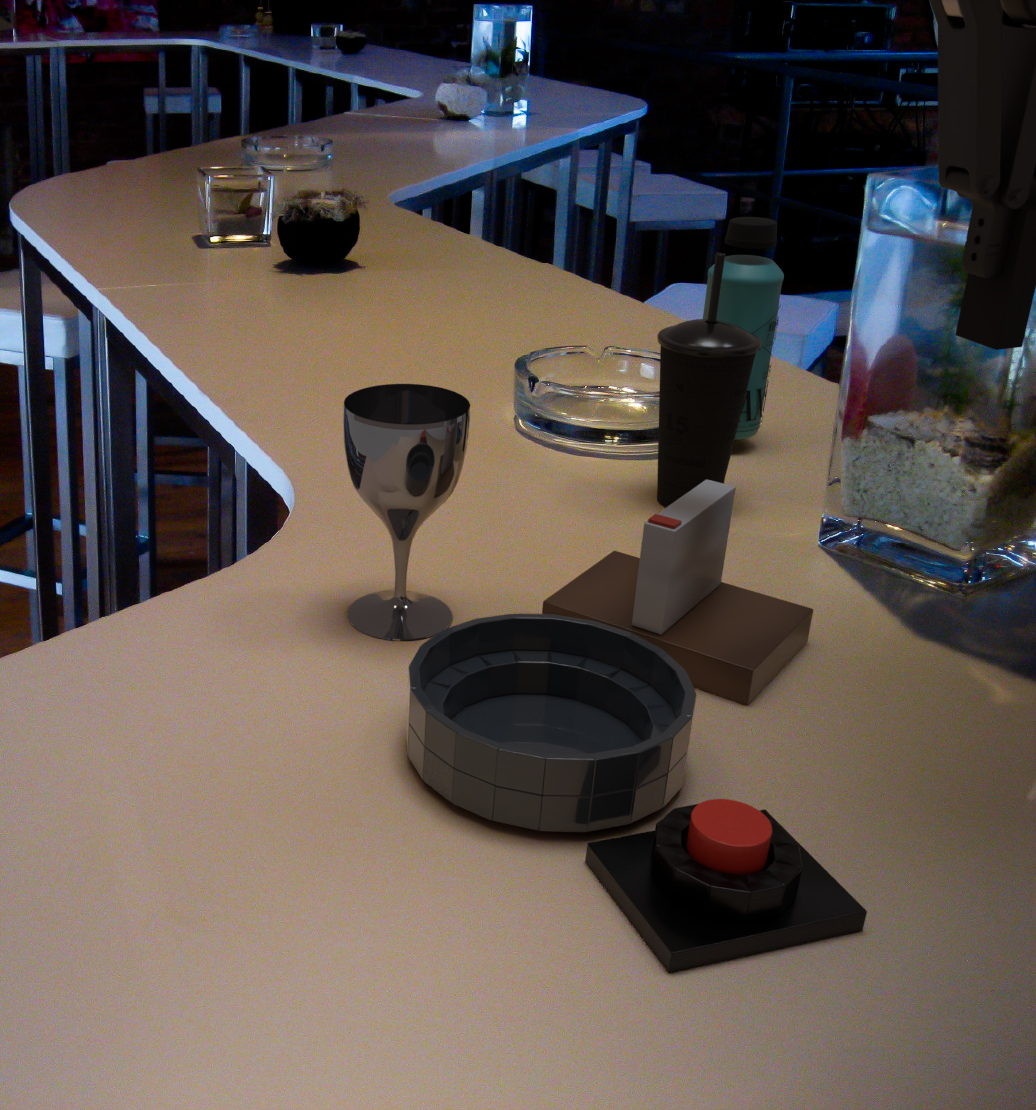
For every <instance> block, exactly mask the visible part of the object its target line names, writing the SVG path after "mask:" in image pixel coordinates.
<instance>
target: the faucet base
mask: <svg viewBox="0 0 1036 1110" xmlns="http://www.w3.org/2000/svg"><path fill="white" fill-rule="evenodd" d="M639 561H640V557H638V556H634V555H631V554H628V553H625V552H621V551H617V550H613V551H611V552H610V553H609V554H607V555H606V556H604V557H603V558H602V559H600V560H599V561H597V562H596V563H595V564H593V565H592V566H590V567H589V568H587V569H586V570H585V571H584V572H581V573H580V574H579V575H577V576H576V577H575V578H573V579H572V580H571V581H569V582H568V583H567V584H565V585H564V586H562V587H561V588H560V589H558V590H557V591H555V592H554V593H552V594H551V595H550V596H548V597H547V598H545V599H544V600H543V601H542V608H541V609H542V611H541V614H555V615H561V616H567V617H574V618H580V619H586V620H592V621H597V622H600V623H603V624H606V625H609V626H612V627H615V628H618V629H622V630H625V631H628V632H631V633H633V634H635V635H636V636H638V637H640V638H642V639H644V640H646V641H648V642H649V643H651V644H653V645H655V646H657V647H659V648H661V649H662V650H664V651H665V652H666V653H667V654H668V655H669V656H671V657H672V658H673V659H674V660H675V661H676V662H677V663H678V664H679V665H680V666H681V667H682V668H684V669H685V671H686V672H687V674H688V676H689V679H690V681H691V683H692V685H693V688H694V689H696V690H699V691H701V692H702V691H703V692H705V693H708V692H709V694H711V695H714V694H715V695H714V696H717V697H718V698H719V697H720V698H723V699H725V700H727V701H731V702H734V703H737V704H740V705H743V706H746V707H747V706H749V704H751V702H752V701H753V700H754V699H756V697H757V696H758V695H759V694H761V692H762V691H763V689H765V688H766V687H767V686H768V684H770V683H771V682H772V680H773V679H774V678H775V677H776V676H777V675H778V674H779V673H780V672H781V671H782V670H783V669H784V668H785V667H786V665H788V663H789V662H790V661H792V659H793V658H794V657H795V656H796V655H797V654H798V653H799V652H800V651H801V649H803V647H804V646H805V645H806V644H807V643H808V640H809V635H810V631H811V624H812V620H813V616H814V615H813V614H814V608H811V607H808V606H805V605H802V604H798V603H795V602H791V601H789V600H786V599H781V598H778V597H774V596H771V595H767V594H764V593H760V592H758V591H754V590H750V589H748V588H744V587H740V586H737V585H733V584H730V583H726V582H723V581H721V584H720V585H719V586H718V587H717V588H715V589H714V590H713V591H712V592H711V593H710V594H708V595H707V596H706V597H705V598H704V599H702V600H701V601H700V602H699V603H698V604H697V605H695V606H694V607H693V608H692V609H691V610H690V611H688V612H687V613H686V614H685V615H684V616H683V617H681V618H680V619H679V620H678V621H677V622H675V623H674V624H673V625H672V626H671V627H670V628H668V629H667V630H666V631H665V632H664V633H663V634H657V633H654V632H651V631H648V630H645V629H642V628H639V627H636V626H633V625H632V618H633V610H634V602H635V594H636V586H637V578H638V570H639ZM780 670H781V671H780Z"/></svg>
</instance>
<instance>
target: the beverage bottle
mask: <svg viewBox="0 0 1036 1110" xmlns="http://www.w3.org/2000/svg"><path fill="white" fill-rule="evenodd" d="M777 234H778V222H777V221H776V220H774V219H771V218H767V217H759V216H758V217H757V216H738V217H733V218H730V220H729V222H728V226H727V231H726V234H725V237H724V244H726V245H727V246H730V247H733V248H739V249H749V250H766V249H772V248H774V247H776V246H777V242H778V241H777ZM714 265H715V263H714V264H712V266H710V268H708V271H707V283H706V291H705V298H704V306H703V313H702V319H707V317H708V309H709V302H710V294H711V287H712V280H713V272H714ZM784 278H785V275H784V271H782V269H781V268H780V267H779V266H778V264H777V263H776V262H775V261H774V260H773V259H772V258H768V257H765V256H760V255H752V254H732V255H731V254H730V255H725V261H724V268H723V275H722V283H721V290H720V297H719V305H718V312H717V319H716V320H721V321H726V322H730V323H732V324H735V325H738V326H740V327H741V328H743V329H745V330H746V331H748V332H751V333H753V334H755V335H756V336H758V337H759V338H760V339H761V342H762V344H761V348H760V350H759V351H758V352H757V353H756V355H755V359H754V363H753V367H752V371H751V375H750V379H749V383H748V387H747V391H746V395H745V399H744V403H743V407H742V411H741V416H740V420H739V424H738V428H737V432H736V436H735V440H736V441H737V440H745V439H750V438H752V437H754V436H756V435H757V433H758V431H759V430H760V428H761V427H762V425H761V423H762V419H764V415H763V413H765V406H766V401H767V394H768V393H767V392H768V387H769V383H770V382H769V380H770V375H771V370H772V368H771V367H772V365H771V364H772V362H771V358H773V355H772V352H773V351H775V350H774V344H775V340H776V338H777V333H776V332H777V331H778V330H777V329H778V326H779V319H780V316H779V315H778V313H779V310H780V308H781V306H780V299H781V292H782V286H783V282H784ZM770 363H771V364H770ZM735 440H734V441H735Z"/></svg>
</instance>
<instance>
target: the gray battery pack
mask: <svg viewBox="0 0 1036 1110" xmlns="http://www.w3.org/2000/svg"><path fill="white" fill-rule="evenodd" d="M735 495H736V486H734V485H731V484H727V483H724V484H723V483H719V482H715V481H711V480H707V479H706V480H705V481H703V482H702V483H701V484H699V485H698V486H696V487H695V488H693V489H692V490H691V491H689V492H688V493H686V494H685V495H683V496H682V497H681V498H679V499H678V500H676V501H675V502H673V503H672V504H671V505H669V506H668V507H665V508H664V509H662V510H661V511H659V512H658V513H655V514H653V515H651V516H650V517H649V518H647V520H646V521H645V522H644V523H643V529H642V538H641V546H640V554H639V558H640V561H639V570H638V578H637V586H636V594H635V602H634V610H633V618H632V625H633V626H636V627H639V628H642V629H645V630H648V631H651V632H654V633H657V634H663V633H664V632H665V631H666V630H667V629H668V628H670V627H671V626H672V625H673V624H674V623H675V622H677V621H678V620H679V619H680V618H681V617H683V616H684V615H685V614H686V613H687V612H688V611H690V610H691V609H692V608H693V607H694V606H695V605H697V604H698V603H699V602H700V601H701V600H702V599H704V598H705V597H706V596H707V595H708V594H710V593H711V592H712V591H713V590H714V589H715V588H717V587H718V586H719V585H720V584H721V582H722V579H723V572H724V566H725V560H726V554H727V546H728V540H729V533H730V528H731V521H732V520H731V519H732V513H733V508H734V507H733V506H734V502H735V501H734V500H735Z"/></svg>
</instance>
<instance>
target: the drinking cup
mask: <svg viewBox="0 0 1036 1110" xmlns="http://www.w3.org/2000/svg"><path fill="white" fill-rule="evenodd" d="M725 257H726V253H724V252H716V253H715V258H714V264H715V265H714V264H713V265H714V272H713V280H712V287H711V294H710V302H709V309H708V317H707V319H703V318H697V319H690V320H686V321H683V322H679V323H677V324H674V325H670V326H667V327H665V328H663V329H661V330H659V331H658V333H657V337H656V339H657V343H658V344H659V345H660V348H659V349H660V350H659V353H660V354H659V393H658V395H659V397H658V398H659V399H658V439H657V441H658V443H657V475H656V476H657V479H656V480H657V482H656V483H657V484H656V485H657V486H656V499H657V502H658V503H659V504H660V505H661V506H663V507H665V508H666V507H668V506H669V505H671V504H672V503H673V502H675V501H676V500H678V499H679V498H681V497H682V496H683V495H685V494H686V493H688V492H689V491H691V490H692V489H693V488H695V487H696V486H698V485H699V484H701V483H702V482H703V481H705V480H706V479H707V480H711V481H715V482H719V483H723V484H725V480H726V475H727V471H728V469H729V468H728V467H729V464H730V460H731V456H732V451H733V447H734V444H735V436H736V432H737V428H738V424H739V420H740V416H741V411H742V407H743V403H744V399H745V395H746V391H747V387H748V383H749V379H750V375H751V371H752V367H753V363H754V359H755V355H756V353H757V352H758V351H759V350H760V348H761V344H762V342H761V339H760V338H759V337H758V336H756V335H755V334H753V333H751V332H748V331H746V330H745V329H743V328H741V327H740V326H738V325H735V324H732V323H730V322H726V321H721V320H716V319H717V312H718V305H719V297H720V290H721V283H722V275H723V268H724V261H725Z"/></svg>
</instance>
